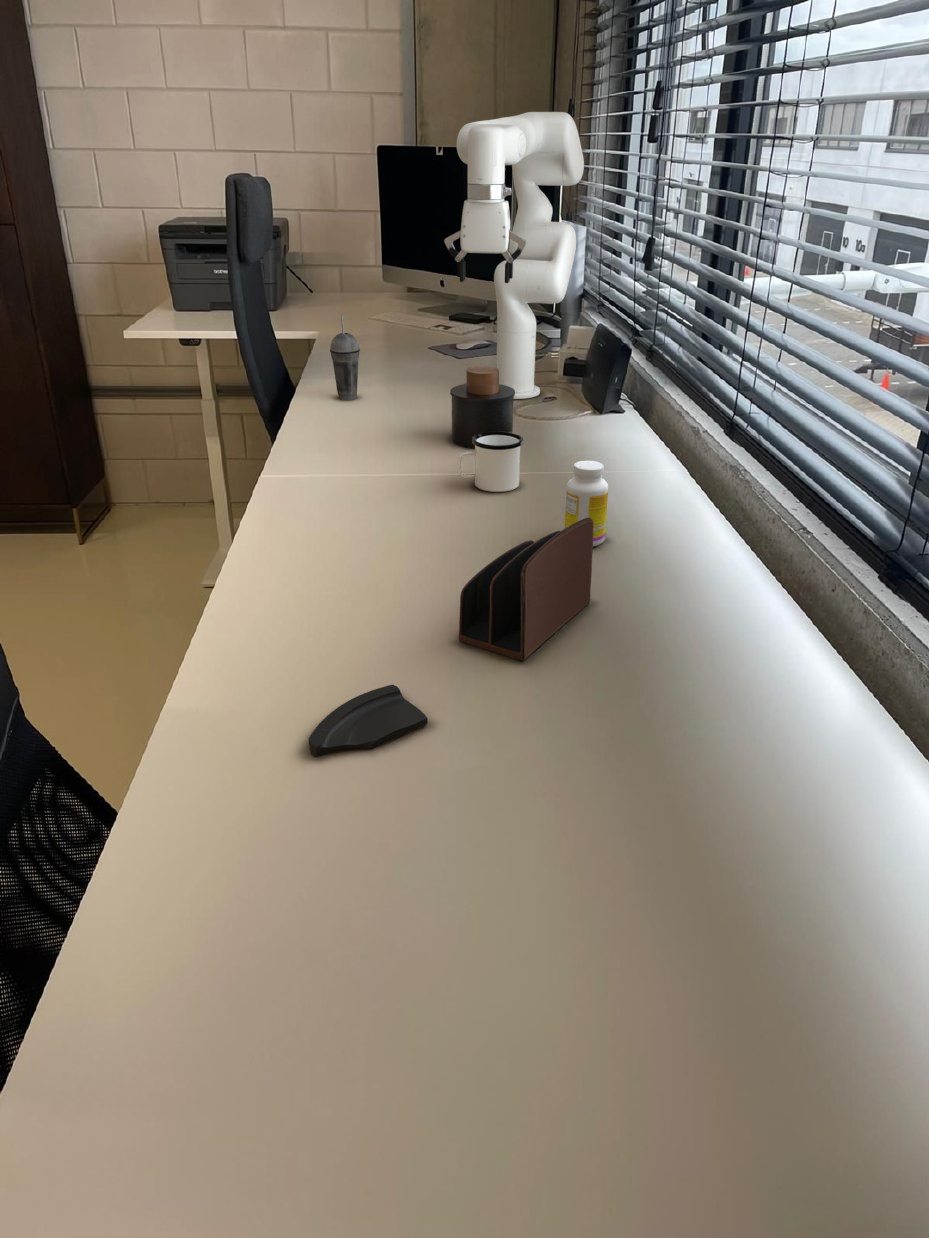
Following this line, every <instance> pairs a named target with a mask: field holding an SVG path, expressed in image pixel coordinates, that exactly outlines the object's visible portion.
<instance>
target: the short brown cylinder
mask: <svg viewBox="0 0 929 1238" xmlns="http://www.w3.org/2000/svg"><path fill="white" fill-rule="evenodd" d="M465 371H466V379H465V380H466V381H465V384H466V391H467V392H468V393H471V394H475V395H491V394H495V393H498V392H499V369H498V368H496V366H490V365H474V366H470V367H467V368H466V370H465Z"/></svg>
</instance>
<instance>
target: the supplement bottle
mask: <svg viewBox="0 0 929 1238" xmlns="http://www.w3.org/2000/svg"><path fill="white" fill-rule="evenodd" d="M604 467H605V466H604V464H603V463H602V462H599V461H596V460H579V461H576V462H575V463H574V464H573V474H574V476H573V477H571V478H570V479H569V480H568V482H567V484H566V489H565V509H564V510H565V511H564V529H565V528H567V527H568V526H570V525H572V524H574V523H575V522H577V521H579V520H582V519H584V518H588V517H589V518H591V519H592V520H593V524H594V529H593V547H597V546H600V545H601V544H603V543H604V541H605V539H606V533H607V532H606V531H607V515H608V503H609V502H608V501H609V484H608V482H607V480H605V479H604V478H603V477H602V476H603V474H604V469H605V468H604Z"/></svg>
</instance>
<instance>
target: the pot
mask: <svg viewBox="0 0 929 1238" xmlns="http://www.w3.org/2000/svg"><path fill="white" fill-rule="evenodd" d="M449 391H450V392H449V393H450V394H449V395H450V396H451V442H452V443H453V444H454V445H456V446H459V447H462V448H466V449H473V450H475V445H474V444H473V443H472V438H473V437H474V436H475V435H477V434H479V433H483V432H490V431H504V432H511V433H514V432H513V431H514V430H513V429H514V400H515V399H514V395H515V390H514V389H513V388H511V387H509V386H506V385H501V384H499V392H498V393H495V394H491V395H475V394H471V393H468V392H467V391H466V383H464V384H459V385H455V386H454V387H452V388H450V390H449Z"/></svg>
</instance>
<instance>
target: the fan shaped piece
mask: <svg viewBox="0 0 929 1238" xmlns="http://www.w3.org/2000/svg"><path fill="white" fill-rule="evenodd" d="M428 720H429V719H428V717H427V716H426V714H425V713H424V712H423V711H422V710H421V709H419V708H418V706H416V705H414V704H413V703H412V702H411V701H409V700H407V699H405V697H404V696H403V693H402V692H401V689H400V688H399V687H398V686H397V685H395V684H388V685H385V686H381V687H378V688H376V689H375V688H374V689H372V690H369V691H367V692H363V693H362V694H359V695H358V696H355V697H353V698H350V699H349V700H347V701H345V702H344V703H342V704H341V705H339V706H338V707H336V708H335V709H334V710H332V711H331V712H330V713H329V714H327V715H326V716H325V717H324V718H323V719H322V720H321V721H320V722H319V723H318V725H317V726H316V727H315V728H314V729H313V731H312V732H311V734H310V735H309V737H308V746H309V748H308V749H309V751H310V753H311V754H312V755H313V757H315V758H316V757H321V756H324V755H329V754H330V755H331V754H334V753H338V752H339V753H340V752H346V751H359V750H361V751H362V750H372V749H374V748H377V747H379V746H382V745H384V744H387V743H389V742H391V741H393V740H395V739H397V738H400V737H402V736H404V735H406V734H408V733H411V732H413V731H415V730H418V729H420V728H422V727H426V726H427V725H428Z"/></svg>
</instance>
